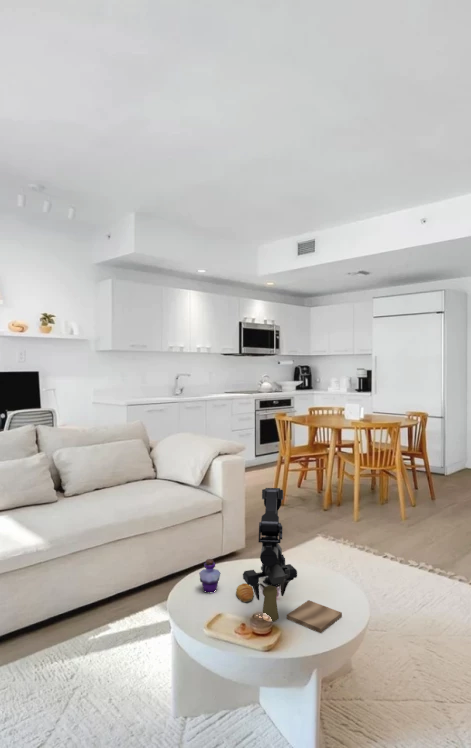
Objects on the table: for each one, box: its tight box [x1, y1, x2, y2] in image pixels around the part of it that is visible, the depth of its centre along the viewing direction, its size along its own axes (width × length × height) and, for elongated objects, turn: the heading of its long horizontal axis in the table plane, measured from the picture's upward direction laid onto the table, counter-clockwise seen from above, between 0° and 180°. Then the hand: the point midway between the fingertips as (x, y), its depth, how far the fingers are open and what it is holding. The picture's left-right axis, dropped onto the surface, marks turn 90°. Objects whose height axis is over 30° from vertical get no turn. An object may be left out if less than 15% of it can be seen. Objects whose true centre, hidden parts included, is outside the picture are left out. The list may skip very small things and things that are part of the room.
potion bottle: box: [198, 558, 221, 593], centre depth 199 cm, size 9×9×12 cm
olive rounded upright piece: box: [262, 584, 280, 622], centre depth 178 cm, size 6×6×11 cm
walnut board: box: [286, 600, 343, 634], centre depth 177 cm, size 14×14×2 cm
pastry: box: [235, 582, 255, 603], centre depth 193 cm, size 9×7×4 cm
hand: (270, 597), depth 178 cm, fingers open, 9 cm apart
